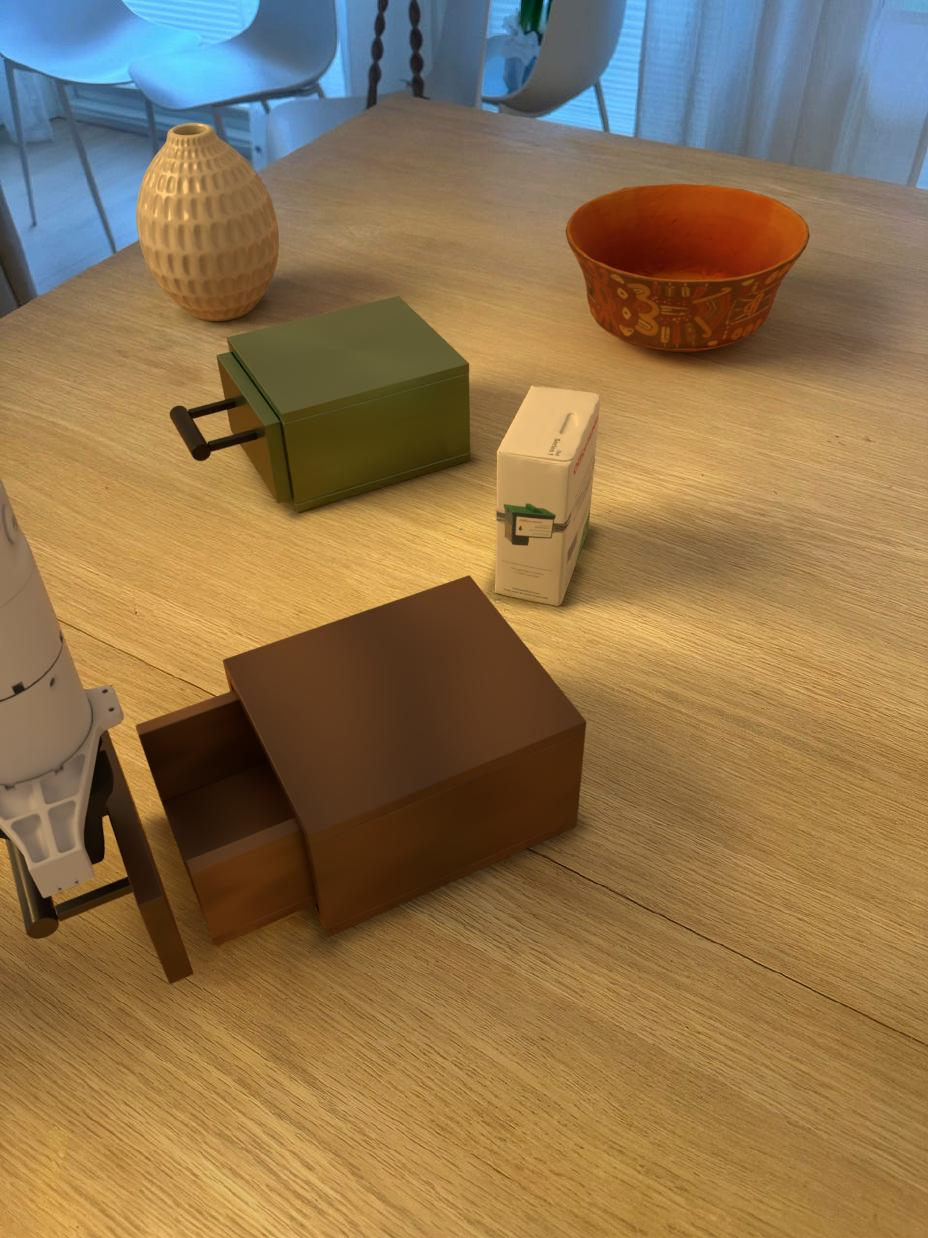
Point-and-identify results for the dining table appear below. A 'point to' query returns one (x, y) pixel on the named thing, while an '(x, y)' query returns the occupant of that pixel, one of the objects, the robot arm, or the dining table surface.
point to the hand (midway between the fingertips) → (80, 857)
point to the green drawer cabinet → (360, 398)
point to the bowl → (684, 262)
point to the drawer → (241, 427)
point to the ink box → (544, 493)
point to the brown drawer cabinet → (412, 746)
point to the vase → (207, 225)
